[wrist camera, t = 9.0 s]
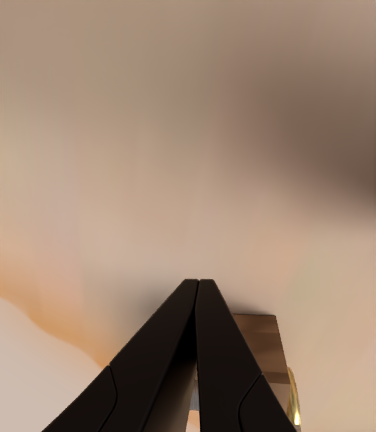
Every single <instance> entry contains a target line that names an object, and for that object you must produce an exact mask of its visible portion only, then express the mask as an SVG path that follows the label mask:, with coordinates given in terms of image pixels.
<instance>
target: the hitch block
mask: <svg viewBox="0 0 376 432" xmlns="http://www.w3.org/2000/svg"><path fill="white" fill-rule="evenodd" d="M232 315H233V317H234V319H235V321H236V322H237V324H238V326H239V328H240V330H241V332H242V334H243V336H244V338H245V339H246V341H247V343H248V345H249V347H250V349H251V351H252V353H253V355H254V356H255V358H256V360H257V362H258V364H259V366H260V368H261V370H262V372H263V375H265V377H266V379H267V381H268V382H269V384H270V386H271V388H272V390H273V392H274V393H275V395H276V397H277V399H278V400H279V402H280V404H281V406H282V407H283V409H284V411H285V413H287V407H288V400H289V393H290V387H291V383H290V378H289V374H288V369H287V365H286V360H285V356H284V351H283V347H282V342H281V338H280V333H279V329H278V324H277V320H276V316H264V315H240V314H232Z"/></svg>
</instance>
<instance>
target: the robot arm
mask: <svg viewBox="0 0 376 432" xmlns="http://www.w3.org/2000/svg"><path fill="white" fill-rule="evenodd" d="M109 365H110V366H109ZM109 365H107V366H106V367H105V368H104V369H103V370H102V371H101V373H100V374H99V375H98V376H97V377H96V378H95V379H94V380H93V381H92V382H91V383H90V384H89V385H88V387H87V388H86V389H85V390H84V391H83V392H82V393H81V394H80V395H79V396H78V397H77V398H76V399H75V400H74V401H73V402H72V403H71V404H70V405H69V406H68V407H67V408H66V409H65V410H64V411H63V412H62V413H61V414H60V415H59V416H58V417H56V419H54V420H53V421H52V422H51V423H50V424H49V425H48V426H47V427H46V428H45V429H44V430H43V431H42V432H186V425H187V420H188V415H189V409H190V403H191V397H192V392H193V386H194V380H195V374H196V369H197V376H198V395H199V415H200V432H297V430H296V428H295V427H294V425H293V424H292V422H291V421H290V419H289V418H288V416H287V414H286V413H285V411H284V409H283V407H282V406H281V404H280V402H279V400H278V399H277V397H276V395H275V393H274V392H273V390H272V388H271V386H270V384H269V382H268V381H267V379H266V377H265V375H263V372H262V370H261V368H260V366H259V364H258V362H257V360H256V358H255V356H254V355H253V353H252V351H251V349H250V347H249V345H248V343H247V341H246V339H245V338H244V336H243V334H242V332H241V330H240V328H239V326H238V324H237V322H236V321H235V319H234V317H233V315H232V313H231V311H230V309H229V307H228V305H227V304H226V302H225V300H224V298H223V296H222V294H221V292H220V290H219V289H218V287H217V285H216V283H215V281H214V280H213V279H201V280H200V281H199V280H198V279H185V280H184V281H183V282H182V283H181V284H180V285H179V286H178V287H177V288H176V289H175V291H174V292H173V293H172V294H171V295H170V296H169V297H168V298H167V299H166V301H165V302H164V303H163V304H162V305H161V306H160V307H159V308H158V309H157V311H156V312H155V313H154V314H153V315H152V316H151V317H150V318H149V319H148V321H147V322H146V323H145V324H144V325H143V326H142V327H141V328H140V329H139V331H138V332H137V333H136V334H135V335H134V336H133V337H132V338H131V339H130V341H129V342H128V343H127V344H126V345H125V346H124V347H123V348H122V349H121V351H120V352H119V353H118V354H117V355H116V356H115V357H114V358H113V359H112V361H111V362H110V363H109Z"/></svg>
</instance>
